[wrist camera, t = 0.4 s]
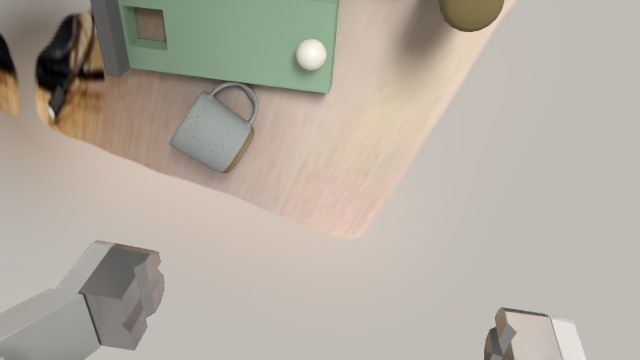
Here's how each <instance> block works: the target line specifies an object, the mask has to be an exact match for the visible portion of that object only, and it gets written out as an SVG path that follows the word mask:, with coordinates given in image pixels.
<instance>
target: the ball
mask: <svg viewBox="0 0 640 360" xmlns="http://www.w3.org/2000/svg"><path fill="white" fill-rule="evenodd" d="M326 56H327V54H326V49H325V47H324V45H323V44H322V43H321V42H320V41H318V40H316V39H307V40H304V41H303V42H301V43H300V45H299V46H298V48H297V51H296V58H297V61H298V63H299V64H300V66H301V67H303V68H304V69H307V70H316V69H318V68H320V67H321V66H322V65H323V64H324V62H325V60H326Z"/></svg>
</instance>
